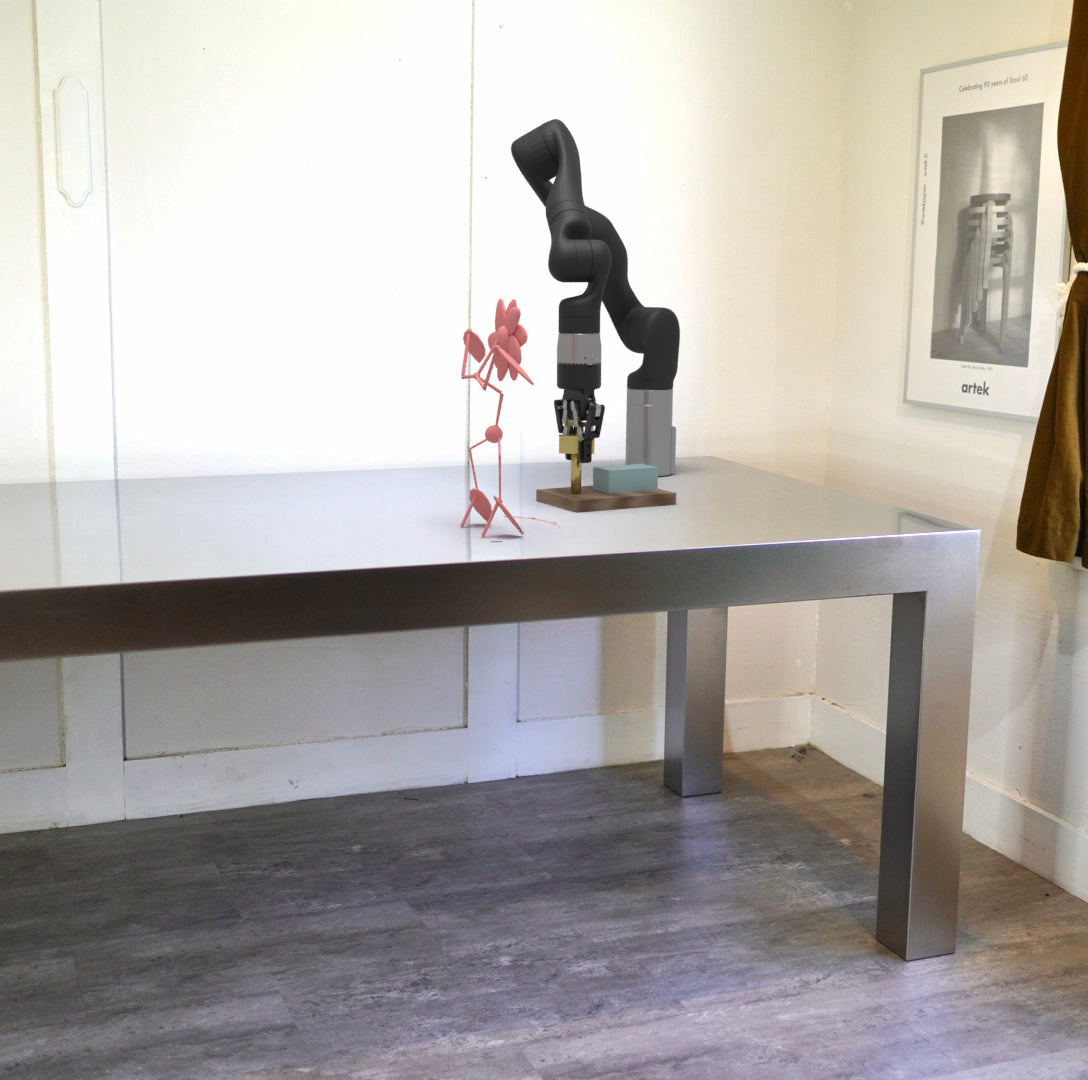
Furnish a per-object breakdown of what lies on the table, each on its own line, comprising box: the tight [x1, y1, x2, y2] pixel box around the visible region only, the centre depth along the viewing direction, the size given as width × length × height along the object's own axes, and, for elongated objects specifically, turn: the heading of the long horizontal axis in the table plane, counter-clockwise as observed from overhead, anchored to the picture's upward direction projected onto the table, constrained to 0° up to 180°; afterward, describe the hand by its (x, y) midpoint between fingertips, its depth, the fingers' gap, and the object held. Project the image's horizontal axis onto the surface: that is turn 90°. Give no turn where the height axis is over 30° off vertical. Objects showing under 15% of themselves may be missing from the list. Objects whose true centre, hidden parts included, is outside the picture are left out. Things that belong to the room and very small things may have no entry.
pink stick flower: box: [459, 298, 561, 543], centre depth 202 cm, size 15×26×35 cm, turn 24°
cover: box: [592, 464, 659, 494], centre depth 234 cm, size 10×5×4 cm, turn 119°
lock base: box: [535, 484, 677, 513], centre depth 233 cm, size 20×14×2 cm
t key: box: [558, 434, 596, 493], centre depth 231 cm, size 7×6×10 cm
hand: (578, 460), depth 229 cm, fingers closed on t key, 4 cm apart
